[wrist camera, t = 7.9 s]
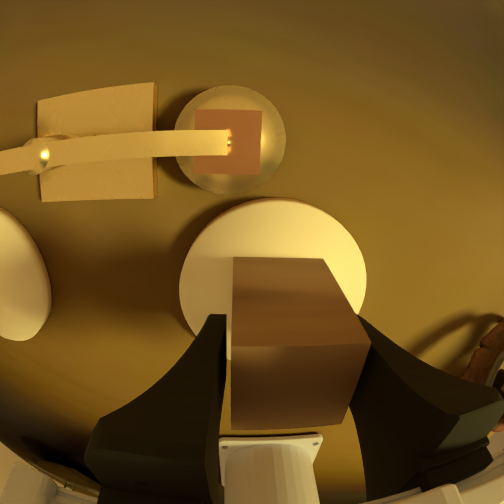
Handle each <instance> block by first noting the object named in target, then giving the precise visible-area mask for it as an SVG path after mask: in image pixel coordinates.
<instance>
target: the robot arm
mask: <svg viewBox="0 0 504 504" xmlns="http://www.w3.org/2000/svg"><path fill="white" fill-rule="evenodd" d="M355 314H356V313H355ZM356 315H357V317H358V319H359V321H360V322H361V324H362V326H363V328H364V330H365V331H366V333H367V335H368V337H369V339H370V340H371V345H370V348H369V351H368V354H367V357H366V360H365V363H364V366H363V369H362V372H361V375H360V377H359V380H358V383H357V386H356V388H355V391H354V394H353V396H352V399H351V401H350V404H349V407H350V410H351V412H352V415H353V418H354V422H355V425H356V429H357V434H358V438H359V443H360V448H361V454H362V460H363V466H364V474H365V482H366V494H367V502H365V503H361V504H504V449H503V450H501V451H499V452H497V453H496V454H494V455H492V456H491V454H490V452H489V451H488V449H487V447H486V446H487V445H488V444H489V442H490V441H489V439H488V438H487V435H488V434H489V432H490V431H491V430H492V429H493V427H494V426H495V425H496V424H497V422H498V421H499V420H500V418H501V417H502V415H503V413H504V399H503V398H502V396H501V395H500V393H499V392H498V390H497V389H496V388H494V387H489V386H485V385H481V384H476V383H473V382H469V381H466V380H463V379H460V378H458V377H455V376H452V375H450V374H447V373H445V372H443V371H441V370H439V369H436V368H434V367H432V366H430V365H428V364H427V363H425V362H423V361H421V360H420V359H418V358H416V357H415V356H413V355H411V354H410V353H408V352H407V351H405V350H404V349H402V348H401V347H399V346H398V345H397V344H395V343H394V342H393V341H391V340H390V339H389V338H387V337H386V336H385V335H383V334H382V333H381V332H380V331H378V330H377V329H376V328H375V327H373V326H372V325H371V324H370V323H368V322H367V321H366V320H364V319H363V318H362V317H360V316H359V315H358V314H356ZM226 363H227V314H210V315H208V317H207V319H206V321H205V323H204V325H203V327H202V328H201V330H200V332H199V333H198V335H197V336H196V338H195V339H194V341H193V342H192V344H191V345H190V347H189V348H188V349H187V350H186V352H185V353H184V354H183V355H182V357H181V358H180V359H179V360H178V362H177V363H176V364H175V365H174V366H173V367H172V368H171V369H170V370H169V371H168V372H167V373H166V374H165V375H164V376H163V377H162V378H161V379H160V380H159V381H157V382H156V383H155V384H154V385H153V386H152V387H151V388H149V389H148V390H147V391H145V392H144V393H143V394H141V395H140V396H138V397H137V398H135V399H134V400H132V401H131V402H130V403H128V404H126V405H125V406H123V407H121V408H119V409H117V410H116V411H114V412H112V413H110V414H108V415H106V416H104V417H101V418H100V419H99V421H98V423H97V425H96V426H95V428H94V430H93V432H92V434H91V436H90V439H89V442H88V445H87V448H86V451H85V454H84V461H85V463H86V465H87V466H88V468H89V469H90V471H91V472H92V473H93V474H94V476H95V477H96V478H97V479H98V481H99V482H100V483H101V488H100V492H99V496H98V498H95V497H91V496H88V495H84V494H81V493H78V492H75V491H71V490H68V489H65V488H63V487H59V486H57V484H56V483H55V482H54V481H53V479H51V478H50V477H49V476H47V475H46V474H44V473H42V472H40V471H38V470H35V469H33V468H30V467H28V466H25V465H23V464H21V463H19V462H15V464H14V466H13V468H12V471H11V473H10V475H9V478H8V481H7V483H6V485H5V488H4V491H3V493H2V496H1V499H0V504H219V495H218V484H219V457H220V469H221V481H222V485H223V486H225V504H320V503H319V497H318V492H317V487H316V482H315V477H314V471H313V466H312V464H313V462H314V459H315V457H316V455H317V452H318V450H319V448H320V445H321V443H322V440H323V437H322V435H321V434H311V435H299V436H283V437H248V438H240V437H223V438H220V439H219V428H220V419H221V411H222V404H223V397H224V389H225V382H226Z"/></svg>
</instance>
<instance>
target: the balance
mask: <svg viewBox="0 0 504 504" xmlns="http://www.w3.org/2000/svg"><path fill="white" fill-rule="evenodd" d="M157 95H158V84H156V83H154V82H153V83H141V84H131V85H123V86H115V87H107V88H101V89H94V90H88V91H83V92H77V93H72V94H67V95H62V96H57V97H53V98H48V99H44V100H40V101H38V117H37V133H38V138H34V139H30V140H28V141H27V142H26V143H25V144H24V146H23V147H18V148H13V149H9V150H4V151H0V175H3V174H9V173H14V172H20V171H25V172H26V173H28V174H29V175H37V174H39V176H40V187H41V197H42V202H53V201H74V200H101V199H153V198H154V197H156V196H157V163H156V157H166V156H175V157H176V160H177V162H178V164H179V166H180V168H181V170H182V171H183V173H184V174H185V175H186V176H187V177H188V178H189V179H190V180H191V181H192V182H193V183H194V184H196V185H197V186H199V187H200V188H202V189H204V190H207V191H209V192H212V193H216V194H223V195H235V194H241V193H245V192H248V191H251V190H253V189H255V188H257V187H259V186H260V185H262V184H263V183H265V182H266V181H267V180H268V179H269V178H270V177H271V176H272V175H273V174H274V172H275V171H276V170H277V168H278V167H279V165H280V163H281V161H282V158H283V155H284V152H285V146H286V133H285V127H284V124H283V121H282V118H281V116H280V114H279V112H278V111H277V109H276V108H275V107H274V105H273V104H272V103H271V102H270V101H269V100H268V99H267V98H266V97H264V96H263V95H261V94H260V93H258V92H256V91H254V90H252V89H249V88H246V87H242V86H234V85H226V86H219V87H214V88H211V89H208V90H206V91H204V92H202V93H200V94H199V95H197V96H196V97H194V98H193V99H192V100H191V101H190V102H189V103H188V104H187V105H186V106H185V107H184V109H183V110H182V112H181V113H180V115H179V117H178V119H177V122H176V124H175V128H174V130H169V131H157Z"/></svg>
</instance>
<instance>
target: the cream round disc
mask: <svg viewBox="0 0 504 504" xmlns="http://www.w3.org/2000/svg"><path fill="white" fill-rule="evenodd" d="M51 304H52V293H51V284H50V279H49V275H48V272H47V268H46V265H45V263H44V260H43V258H42V255H41V253H40V251H39V249H38V247H37V245H36V244H35V242H34V240H33V239H32V237H31V236H30V234H29V233H28V231H27V230H26V229H25V227H24V226H23V225H22V224H21V223H20V222H19V221H18V220H17V219H16V218H15V217H14V216H13V215H12V214H11V213H9V212H8V211H6V210H5V209H3V208H1V207H0V336H2V337H4V338H7V339H10V340H15V341H23V340H28V339H30V338H32V337H33V336H34V335H36V333H37V332H38V331H39V330H40V328H41V327H42V326H43V324H44V323H45V322H46V320H47V318H48V316H49V313H50V310H51Z"/></svg>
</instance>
